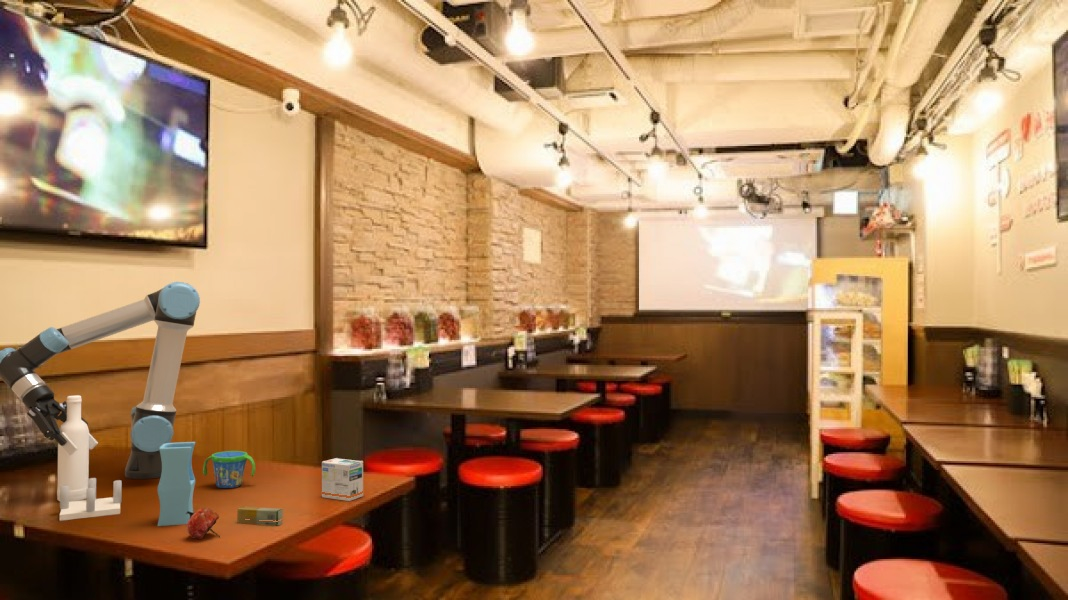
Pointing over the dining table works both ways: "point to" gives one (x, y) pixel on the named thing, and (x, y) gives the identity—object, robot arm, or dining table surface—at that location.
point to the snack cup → (229, 468)
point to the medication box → (259, 515)
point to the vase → (176, 483)
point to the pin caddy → (90, 502)
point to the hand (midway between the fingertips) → (84, 449)
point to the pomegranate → (201, 522)
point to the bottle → (76, 465)
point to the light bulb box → (342, 478)
